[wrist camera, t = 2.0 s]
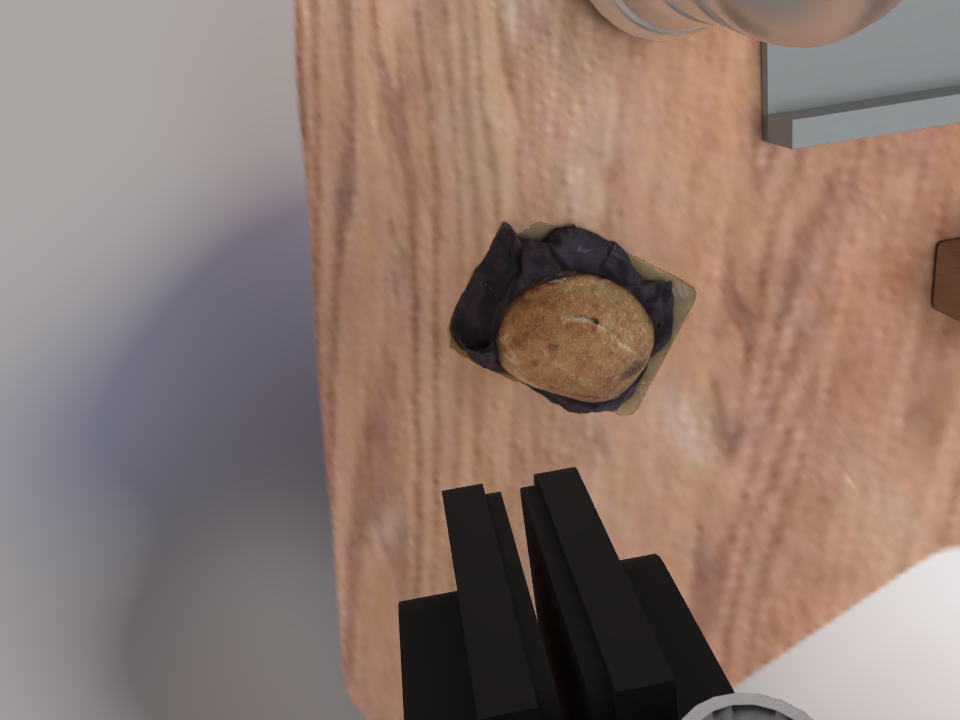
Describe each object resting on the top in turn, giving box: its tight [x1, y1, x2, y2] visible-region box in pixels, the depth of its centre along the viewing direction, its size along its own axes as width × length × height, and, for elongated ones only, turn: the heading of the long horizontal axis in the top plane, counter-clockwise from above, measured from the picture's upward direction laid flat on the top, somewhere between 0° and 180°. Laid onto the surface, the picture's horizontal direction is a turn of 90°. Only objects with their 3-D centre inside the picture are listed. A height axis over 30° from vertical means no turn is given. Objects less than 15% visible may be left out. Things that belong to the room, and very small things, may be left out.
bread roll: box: [450, 222, 696, 416], centre depth 40 cm, size 11×8×4 cm
